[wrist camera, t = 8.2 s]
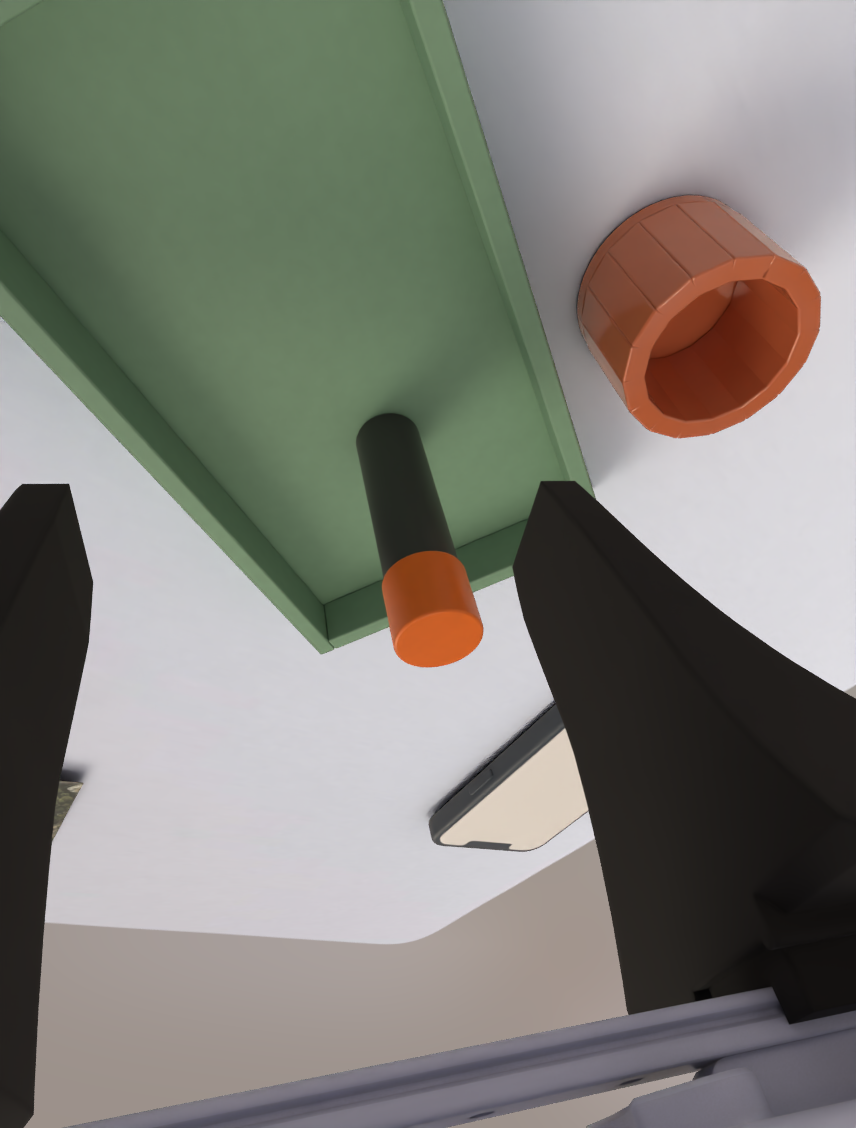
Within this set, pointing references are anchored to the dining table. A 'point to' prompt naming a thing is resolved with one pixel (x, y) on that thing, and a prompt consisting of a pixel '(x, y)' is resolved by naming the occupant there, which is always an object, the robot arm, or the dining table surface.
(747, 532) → the dining table surface
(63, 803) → the eiffel tower figurine
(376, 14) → the tray
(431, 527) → the marker
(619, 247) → the pen pot
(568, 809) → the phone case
